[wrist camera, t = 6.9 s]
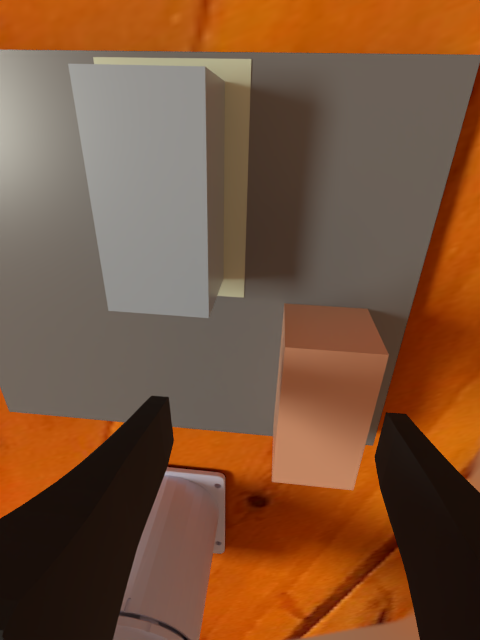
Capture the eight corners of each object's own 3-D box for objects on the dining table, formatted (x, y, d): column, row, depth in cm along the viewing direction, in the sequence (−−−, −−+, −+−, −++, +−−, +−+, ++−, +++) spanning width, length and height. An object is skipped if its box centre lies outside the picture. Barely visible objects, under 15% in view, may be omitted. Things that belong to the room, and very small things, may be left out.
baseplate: (368, 430, 23) (373, 446, 22) (21, 399, 24) (9, 412, 23) (466, 60, 14) (482, 54, 12) (-98, 53, 15) (-128, 48, 14)
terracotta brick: (341, 429, 21) (353, 490, 18) (273, 423, 22) (271, 481, 18) (367, 308, 17) (389, 354, 14) (284, 303, 18) (285, 347, 14)
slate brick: (223, 279, 17) (208, 318, 14) (142, 273, 18) (108, 310, 14) (224, 81, 14) (205, 66, 10) (121, 79, 14) (68, 63, 10)
